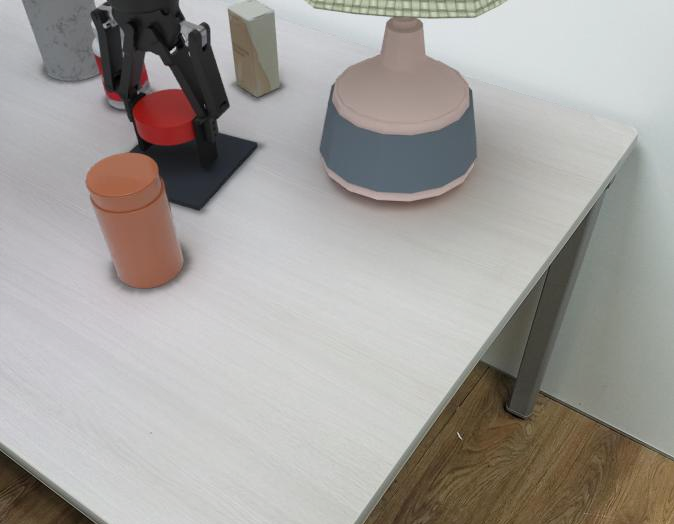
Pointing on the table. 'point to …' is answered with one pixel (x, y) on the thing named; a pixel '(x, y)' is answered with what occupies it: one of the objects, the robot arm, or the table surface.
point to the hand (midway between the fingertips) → (178, 153)
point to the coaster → (197, 168)
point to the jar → (135, 219)
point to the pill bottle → (112, 97)
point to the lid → (165, 117)
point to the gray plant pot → (64, 37)
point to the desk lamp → (401, 108)
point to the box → (254, 46)
